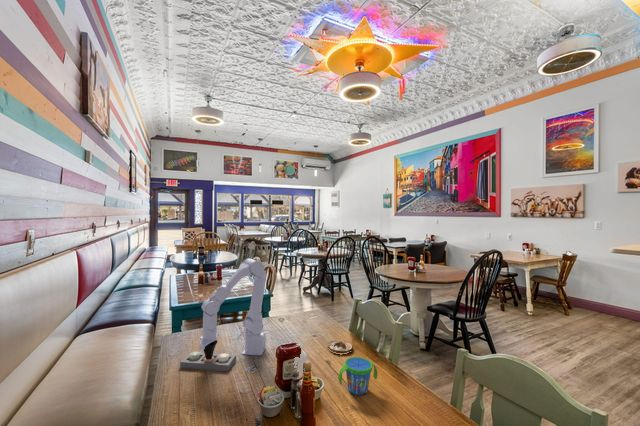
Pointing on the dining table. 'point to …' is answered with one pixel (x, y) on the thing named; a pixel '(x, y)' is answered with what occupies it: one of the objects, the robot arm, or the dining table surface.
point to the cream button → (223, 358)
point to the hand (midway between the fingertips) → (208, 358)
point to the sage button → (194, 356)
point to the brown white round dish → (340, 346)
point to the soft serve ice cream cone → (300, 361)
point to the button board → (208, 363)
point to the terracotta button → (209, 359)
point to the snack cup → (357, 374)
